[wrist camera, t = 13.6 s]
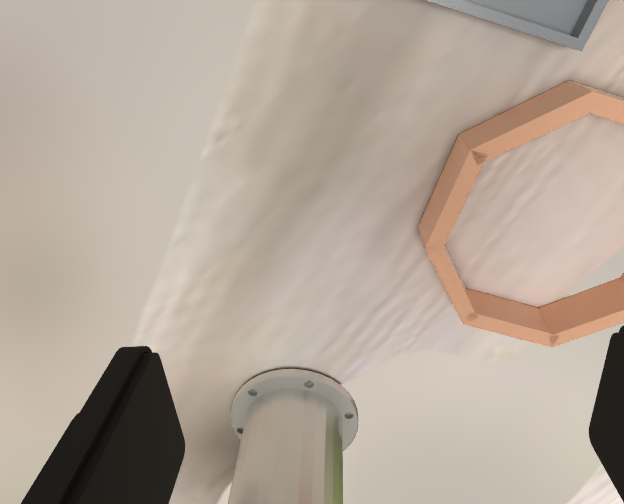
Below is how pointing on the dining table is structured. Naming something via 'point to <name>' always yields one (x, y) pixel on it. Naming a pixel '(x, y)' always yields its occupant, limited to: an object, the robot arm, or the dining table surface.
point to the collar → (455, 189)
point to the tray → (538, 17)
